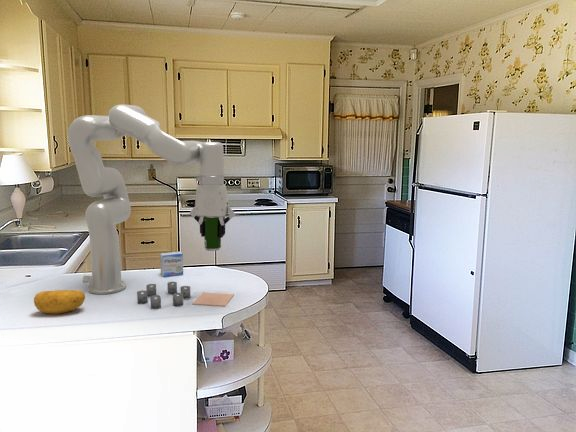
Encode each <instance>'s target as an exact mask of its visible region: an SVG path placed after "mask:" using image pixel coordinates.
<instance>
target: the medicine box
mask: <svg viewBox="0 0 576 432" xmlns="http://www.w3.org/2000/svg"><path fill="white" fill-rule="evenodd" d="M159 257H160V258H159V259H160V260H159V261H160V262H159V263H160V275H161V276H162V277H163V278H169V277H176V276H182V275H184V255H183V252H181V251H172V252H170V251H169V252H162V253H159Z"/></svg>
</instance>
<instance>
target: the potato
mask: <svg viewBox="0 0 576 432" xmlns="http://www.w3.org/2000/svg"><path fill="white" fill-rule="evenodd" d="M85 300H86V295H85V292H84V291H81V290H78V289H70V290H69V289H56V290H43V291H40V292H38V293H36V294H35V295H34V297H33V303H34V306H35V307H36V309H37V311H40V312H42V313H44V314H50V315H51V314H52V315H53V314H54V315H55V314H56V315H58V314H62V313H67V312H72V311H74V310H77V309H78V308H80V307H81V306H82V305H83V303H84V302H85Z"/></svg>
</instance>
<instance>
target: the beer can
mask: <svg viewBox="0 0 576 432" xmlns="http://www.w3.org/2000/svg"><path fill="white" fill-rule="evenodd" d="M219 226H220V220H219V217H204V237H203V239H204V243H203V244H204V249H205V251H208V252H209V251H210V252H214V251H215V252H217V251H220V250H221V248H222V238H220V237H219Z"/></svg>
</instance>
